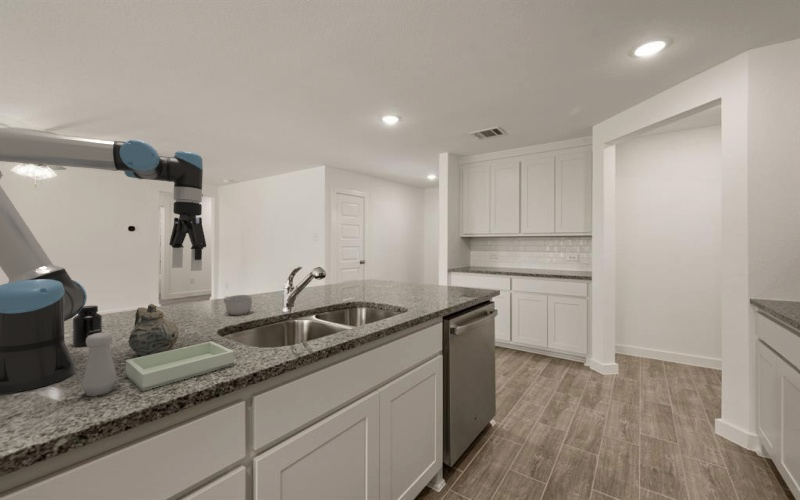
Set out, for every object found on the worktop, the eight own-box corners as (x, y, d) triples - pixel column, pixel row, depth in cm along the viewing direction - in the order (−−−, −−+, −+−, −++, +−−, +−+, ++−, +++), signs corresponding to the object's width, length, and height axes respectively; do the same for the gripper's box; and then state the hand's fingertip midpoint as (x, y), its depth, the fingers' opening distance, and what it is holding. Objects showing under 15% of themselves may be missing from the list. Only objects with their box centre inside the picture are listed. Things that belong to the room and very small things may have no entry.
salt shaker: (100, 398, 70) (99, 338, 69) (74, 398, 70) (72, 337, 70) (124, 386, 76) (123, 330, 75) (99, 386, 76) (98, 330, 75)
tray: (143, 391, 73) (142, 374, 73) (125, 375, 82) (125, 360, 82) (234, 365, 89) (233, 351, 89) (211, 353, 98) (211, 341, 97)
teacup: (256, 313, 151) (256, 296, 151) (234, 318, 142) (234, 299, 142) (239, 309, 159) (238, 293, 158) (216, 313, 150) (216, 296, 149)
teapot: (193, 355, 96) (193, 304, 96) (147, 368, 86) (146, 311, 86) (158, 343, 107) (157, 297, 107) (113, 353, 97) (112, 303, 97)
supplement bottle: (96, 345, 104) (95, 308, 104) (68, 348, 102) (67, 309, 101) (106, 339, 110) (105, 304, 110) (79, 341, 108) (79, 305, 108)
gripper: (219, 201, 100) (218, 271, 100) (183, 205, 115) (182, 266, 115) (192, 198, 94) (191, 272, 94) (158, 202, 108) (157, 266, 109)
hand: (186, 269), depth 105 cm, fingers open, 13 cm apart
